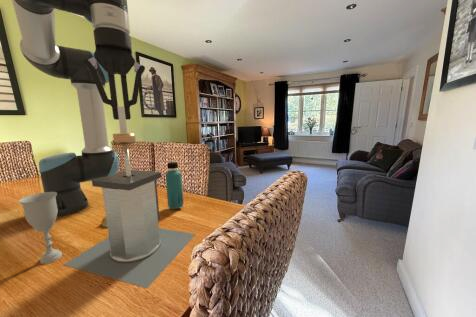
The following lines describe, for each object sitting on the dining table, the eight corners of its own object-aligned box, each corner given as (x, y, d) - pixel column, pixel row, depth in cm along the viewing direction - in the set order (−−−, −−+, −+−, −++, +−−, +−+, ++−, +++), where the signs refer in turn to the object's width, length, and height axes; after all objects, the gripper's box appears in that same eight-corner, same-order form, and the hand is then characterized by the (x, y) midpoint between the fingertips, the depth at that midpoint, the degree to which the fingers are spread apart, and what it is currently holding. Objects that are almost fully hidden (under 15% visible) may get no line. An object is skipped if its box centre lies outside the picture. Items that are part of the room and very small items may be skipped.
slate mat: (63, 266, 52) (63, 264, 52) (131, 224, 72) (130, 223, 72) (147, 290, 44) (147, 288, 44) (195, 235, 65) (195, 234, 65)
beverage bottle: (179, 212, 81) (176, 164, 78) (164, 211, 83) (160, 163, 79) (186, 206, 88) (184, 161, 84) (172, 205, 89) (169, 160, 85)
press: (98, 258, 54) (86, 181, 50) (142, 227, 69) (136, 166, 65) (138, 267, 50) (128, 185, 46) (175, 233, 65) (170, 169, 61)
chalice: (49, 251, 58) (37, 192, 54) (74, 250, 58) (64, 191, 55) (25, 270, 50) (9, 203, 47) (54, 268, 51) (40, 201, 48)
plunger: (105, 221, 53) (93, 134, 49) (132, 206, 62) (124, 132, 58) (133, 226, 51) (123, 135, 46) (158, 210, 59) (151, 132, 55)
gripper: (74, 19, 41) (90, 134, 46) (143, 31, 47) (152, 132, 52) (81, 33, 48) (95, 133, 52) (141, 42, 54) (149, 131, 58)
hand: (123, 132), depth 52 cm, fingers closed
